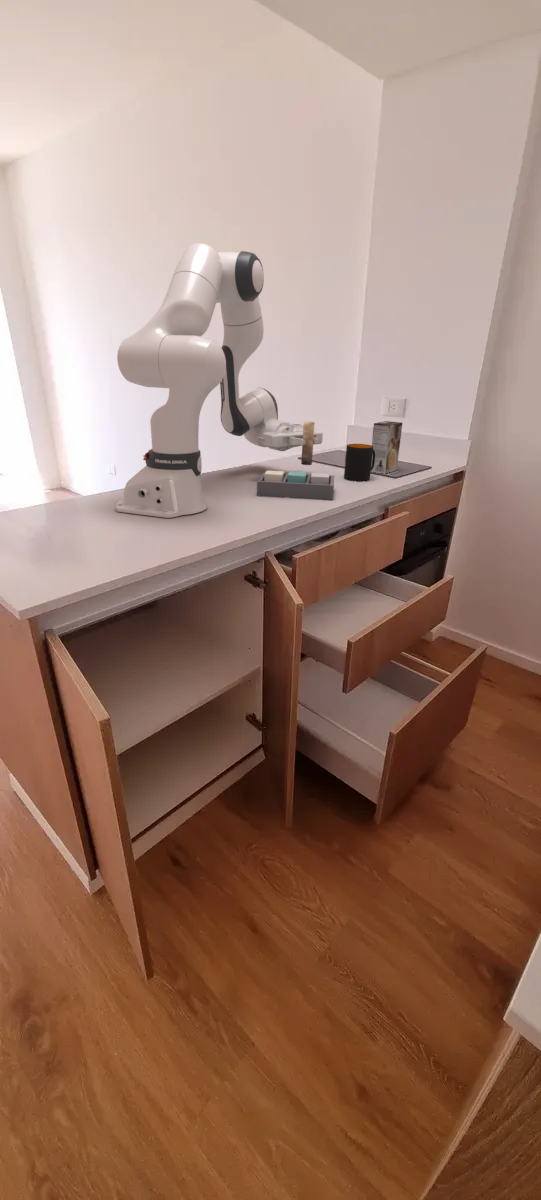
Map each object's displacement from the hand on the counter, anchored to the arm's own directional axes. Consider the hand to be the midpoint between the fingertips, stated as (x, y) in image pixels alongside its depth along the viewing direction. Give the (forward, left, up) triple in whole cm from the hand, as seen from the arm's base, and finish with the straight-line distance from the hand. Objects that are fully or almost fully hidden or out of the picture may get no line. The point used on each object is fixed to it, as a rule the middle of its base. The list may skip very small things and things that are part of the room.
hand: (309, 442), depth 153 cm
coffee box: (+24, +26, -13) cm, 38 cm away
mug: (+16, +13, -13) cm, 25 cm away
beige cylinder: (-1, +1, -7) cm, 7 cm away
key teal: (-3, -11, -10) cm, 15 cm away
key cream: (-9, -11, -10) cm, 17 cm away
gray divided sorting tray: (-3, -11, -13) cm, 17 cm away
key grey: (+4, -11, -10) cm, 16 cm away
